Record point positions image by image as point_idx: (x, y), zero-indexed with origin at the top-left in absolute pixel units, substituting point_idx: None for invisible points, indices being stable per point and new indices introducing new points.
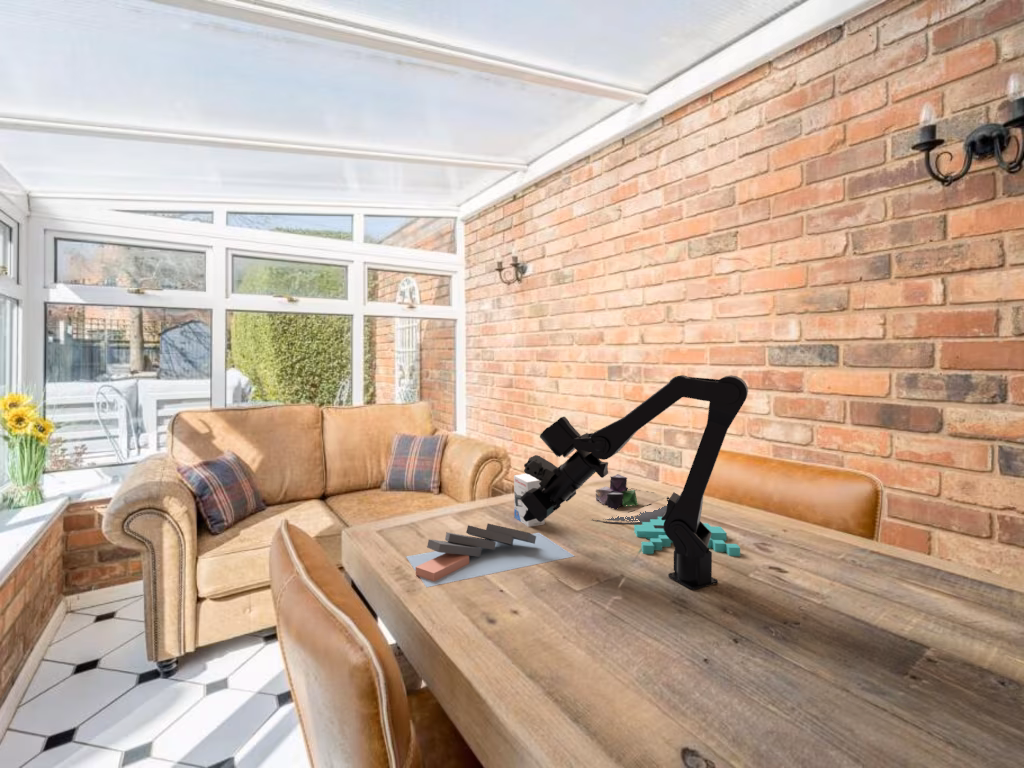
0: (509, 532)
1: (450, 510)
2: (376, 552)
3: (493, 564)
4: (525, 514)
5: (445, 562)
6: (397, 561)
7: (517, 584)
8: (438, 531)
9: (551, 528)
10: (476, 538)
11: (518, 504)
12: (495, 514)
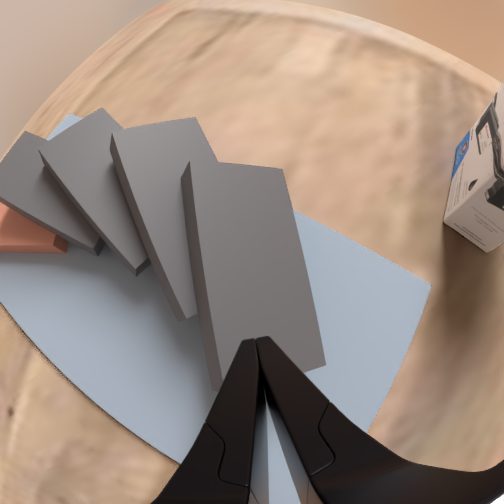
0: (198, 286)
1: (366, 26)
2: (87, 69)
3: (86, 322)
4: (229, 367)
5: (10, 223)
6: (56, 118)
7: (45, 438)
8: (244, 55)
9: (484, 287)
10: (90, 207)
11: (479, 135)
12: (434, 97)
